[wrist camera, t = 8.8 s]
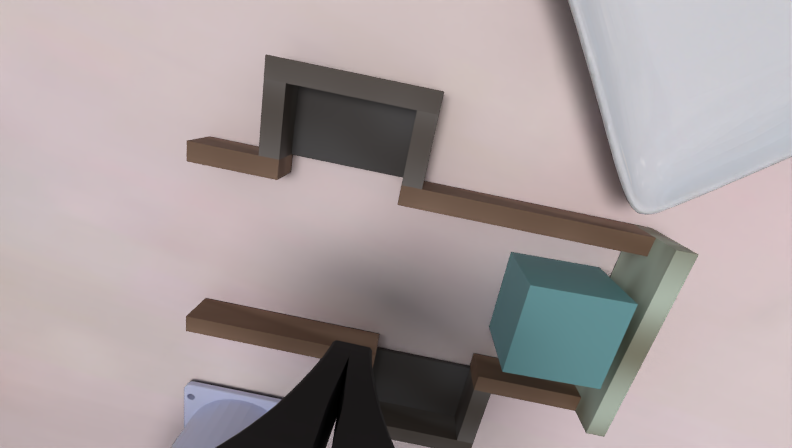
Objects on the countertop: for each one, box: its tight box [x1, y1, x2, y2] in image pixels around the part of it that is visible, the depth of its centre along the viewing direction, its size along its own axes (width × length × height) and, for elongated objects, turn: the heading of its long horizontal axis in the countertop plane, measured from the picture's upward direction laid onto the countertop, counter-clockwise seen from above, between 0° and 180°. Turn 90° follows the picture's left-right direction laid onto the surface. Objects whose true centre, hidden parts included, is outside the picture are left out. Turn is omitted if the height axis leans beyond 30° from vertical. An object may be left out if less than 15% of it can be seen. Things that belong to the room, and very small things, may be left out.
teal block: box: [489, 252, 638, 389], centre depth 20 cm, size 5×5×4 cm
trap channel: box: [186, 55, 698, 448], centre depth 20 cm, size 20×24×4 cm
